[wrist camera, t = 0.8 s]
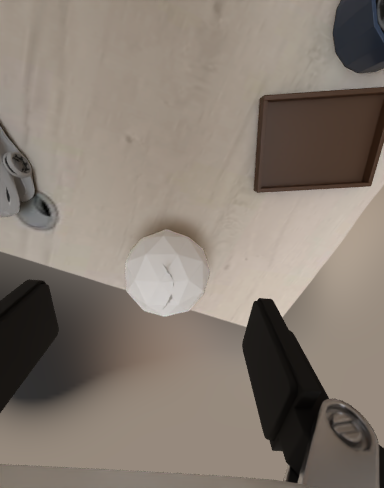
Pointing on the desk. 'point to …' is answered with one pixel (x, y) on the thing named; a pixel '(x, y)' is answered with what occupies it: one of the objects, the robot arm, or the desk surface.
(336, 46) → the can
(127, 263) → the geodesic sphere
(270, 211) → the desk surface
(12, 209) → the car model
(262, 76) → the desk surface
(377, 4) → the salt shaker
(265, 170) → the tray
